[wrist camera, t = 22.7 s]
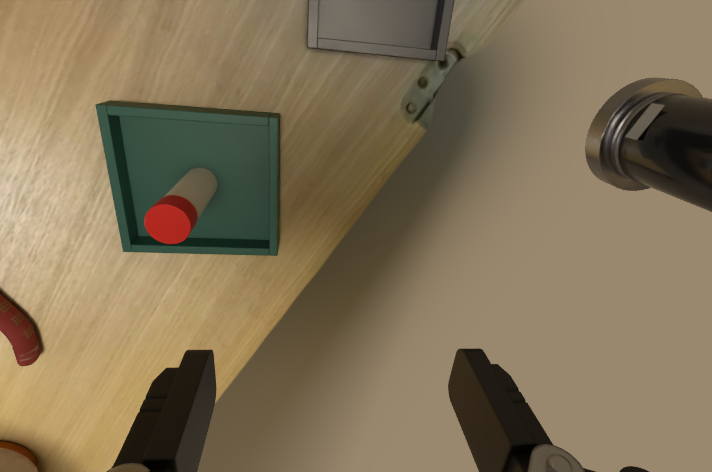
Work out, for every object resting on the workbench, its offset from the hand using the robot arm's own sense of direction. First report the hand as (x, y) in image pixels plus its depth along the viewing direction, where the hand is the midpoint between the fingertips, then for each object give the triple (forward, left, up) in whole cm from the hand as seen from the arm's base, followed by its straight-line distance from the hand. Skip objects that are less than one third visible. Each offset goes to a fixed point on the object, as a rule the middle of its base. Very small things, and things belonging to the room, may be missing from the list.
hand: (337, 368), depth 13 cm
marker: (+11, +3, -28) cm, 30 cm away
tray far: (+11, +3, -28) cm, 30 cm away
